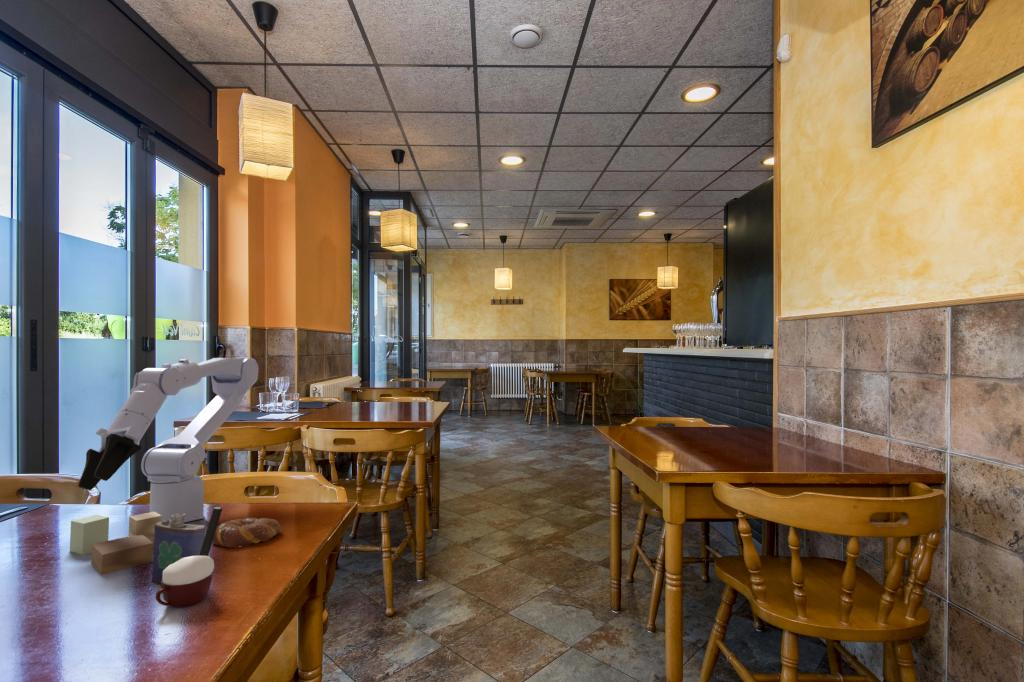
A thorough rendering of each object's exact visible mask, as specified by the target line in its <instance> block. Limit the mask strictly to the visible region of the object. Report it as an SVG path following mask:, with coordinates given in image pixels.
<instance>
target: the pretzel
mask: <svg viewBox="0 0 1024 682" xmlns="http://www.w3.org/2000/svg"><path fill="white" fill-rule="evenodd" d="M281 530H282V527H281V524H280V522H279V521H278V520H277V519H273V518H266V517H261V518H257V517H245V518H243V519H240V518H238V519H236V518H235V519H233V520H228V521H225V522H223V523H221V524H220V525H217V529H216V532H215V535H214V538H213V542H212V544H214V545H216V546H218V545H224V546H223V547H225V548H227V547H239V546H244V547H247V546H246V545H248V546H250V545H252V544H251V543H257V542H259V541H265V542H267V541H266V540H268V539H270V538H271V539H272V538H273V536H274V535H277V534H278V533H279V532H280V533H281ZM280 533H279V534H280ZM279 534H278V535H279ZM278 535H277V536H278ZM274 537H275V536H274ZM271 539H270V540H271ZM268 541H269V540H268ZM259 543H260V542H259ZM249 544H250V545H249ZM257 544H258V543H257ZM239 548H240V547H239Z"/></svg>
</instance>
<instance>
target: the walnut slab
mask: <svg viewBox="0 0 1024 682" xmlns="http://www.w3.org/2000/svg"><path fill="white" fill-rule="evenodd" d="M153 553H154V547H153V542H152V541H150V540H149V539H148V538H146V537H145V536H144V535H142V534H138V535H133V536H129V535H128V536H124V537H120V538H114V539H110V540H108V541H105V542H100V543H96V544H92V552H91V565H92V566H93V567H94V568H95V569H96V571H97V572H98V573H99V574H100V576H103V575H107V574H110V573H114V572H118V571H122V570H125V569H129V568H134V567H137V566H141V565H146V564H150V563H153Z"/></svg>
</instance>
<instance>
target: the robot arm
mask: <svg viewBox="0 0 1024 682" xmlns="http://www.w3.org/2000/svg"><path fill="white" fill-rule="evenodd" d="M206 377H211V386H212V393H214V394H216V395H215V397H213V399H211V401H210V402H209V403H208V404H207V405H206V406H205V407H204V408H203V409H202V410H201V411H200V412H199V413H198V414H197V415H196V416H195V417H194V418H193V419H192V420H191V422H189V424H188V425H186V427H185V428H184V429H183V430H182V431H181V432H180V433H179V434H178V435H177V436H174V437H171V438H167V439H166V440H163V441H161V442H160V443H159V444H158V445H156V446H155V447H154V446H153V447H152V448H149V449H148V450H147V451H146V452H144V454H143V457H142V459H141V462H140V463H141V464H140V469H141V472H142V473H143V475H144V476H146V477H147V479H146V480H147V482H150V489H149V490H150V491H149V512H156V513H158V514H160V515H161V516H162V521H166V520H168V519H171V520H175V518H172V517H171V515H173V514H174V516H175V514H180V515H183V513H185V514H186V517H185V518H183V519H184V520H185V521H184V523H188V522H193V521H197V520H202V519H205V517H206V516H205V515H204V506H205V505H204V503H205V502H204V501H205V486H204V480H203V479H202V476H200V475H196V474H197V473H198V471H199V470H200V468H201V465H202V463H203V461H204V460H205V459H206V456H207V455H206V451H205V448H204V445H205V444H206V443H207V442H208V441H209V440H210V439H211V437H213V435H214V434H215V433H216V432H217V430H218V429H219V428H220V427H221V426H222V425H223V424H224V423H225V422H226V420H227V419H228V418H229V417H230V416H231V414H233V412H234V411H235V410H236V409H237V408H238V407H239V405H240V404H241V403H242V401H243V399H244V397H245V395H246V394H247V393H248V391H249V390H250V389H252V387H253V386H254V384H256V382H257V381H258V377H259V364H258V362H257V360H256V358H255V359H254V358H252V357H247V358H243V357H242V358H240V357H237V358H236V357H235V358H234V357H233V358H232V357H231V358H229V357H212V358H210V359H208V360H204V361H201V362H199V363H196V362H195V361H192V360H189V358H188V359H186V358H184V359H183V358H182V359H179V360H178V361H177V363H173V364H171V363H164V364H162V366H160V367H146V368H144V369H142V370H141V371H139V372H136V373H135V375H134V377H133V386H132V388H131V389H130V391H129V396H128V398H127V400H126V401H125V402H124V404H123V405H122V407H121V408H120V409H119V411H118V412H117V414H116V415H115V417H114V418H113V420H112V422H111V423H110V425H109V426H108V428H107V429H105V428H103V427H101V428H98V429H97V430H96V431H95V434H96V435H97V436H100V438H101V439H100V441H101V442H100V445H101V446H100V447H99V449H98V451H97V450H95V449H93V448H88V450H87V451H86V453H85V459H86V460H85V465H84V468H83V471H82V473H81V476H80V479H79V481H78V484H77V487H79V488H82V489H84V490H86V491H91V490H93V489H94V488H95V487H96V486H97V485H98V484H99V483H100V481H104V482H106V481H108V480H110V478H112V477H113V476H114V474H116V472H117V471H118V470H119V469H120V468H121V467H122V466H123V465H124V463H125V462H126V461H128V460H129V459H130V458H132V456H133V455H135V454H136V453H138V452H139V451H141V450H142V449H143V447H142V446H141V445H140V441H142V438H143V437H144V435H145V433H146V431H147V430H148V428H149V427H150V425H151V424H152V422H153V421H154V419H155V417H156V416H157V414H158V413H159V411H160V409H161V407H162V406H163V405H164V403H165V401H166V400H167V398H168V396H177V394H179V392H180V391H181V390H183V389H186V388H189V387H193V386H196V385H197V384H199V383H200V382H201V380H202V378H206ZM162 521H161V522H162Z"/></svg>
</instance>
